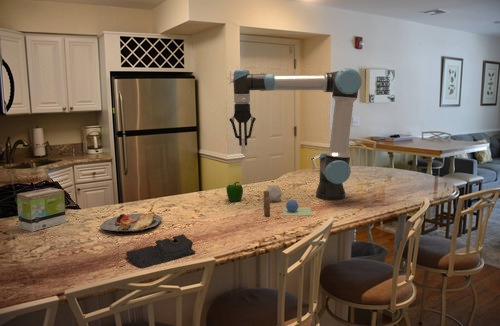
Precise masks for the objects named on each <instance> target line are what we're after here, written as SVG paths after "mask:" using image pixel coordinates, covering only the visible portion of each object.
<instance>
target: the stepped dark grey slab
mask: <svg viewBox="0 0 500 326" xmlns="http://www.w3.org/2000/svg"><path fill="white" fill-rule="evenodd" d="M154 243H155V244H156V245H147V246H145V247H141V248H137V249H132V250H127V251H126V254H125V256H126V257H127V258H128V260H129V261H131V262H132V264H133V265H134V266H136V268H139V269H142V270H143V269H146V268H151V267H153V266H157V265H161V264H165V263H166V264H167V263H168V262H169V263H170V262H172V261H176V260H180V259H183V258H187V257H191V256H194V255H196V254H197V252H196V251H195V250H194V249H192V247H193V244H194V242H193V241H192V240H191V239H190V238H188V237H187V236H186V235H185V234H184V233H182V234H179V235H174V236H173V237H172V239H170V238H167V237H165V238H164V239H157V240H156V241H155V242H154Z"/></svg>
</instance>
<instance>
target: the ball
mask: <svg viewBox="0 0 500 326" xmlns="http://www.w3.org/2000/svg"><path fill="white" fill-rule="evenodd" d="M298 207H299V203H298V202H297V201H296V200H294V199H289V200H288V201H287V202H286V204H285V208H287V210H288V211H290V212H295V211H296V210H297V209H298Z"/></svg>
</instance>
